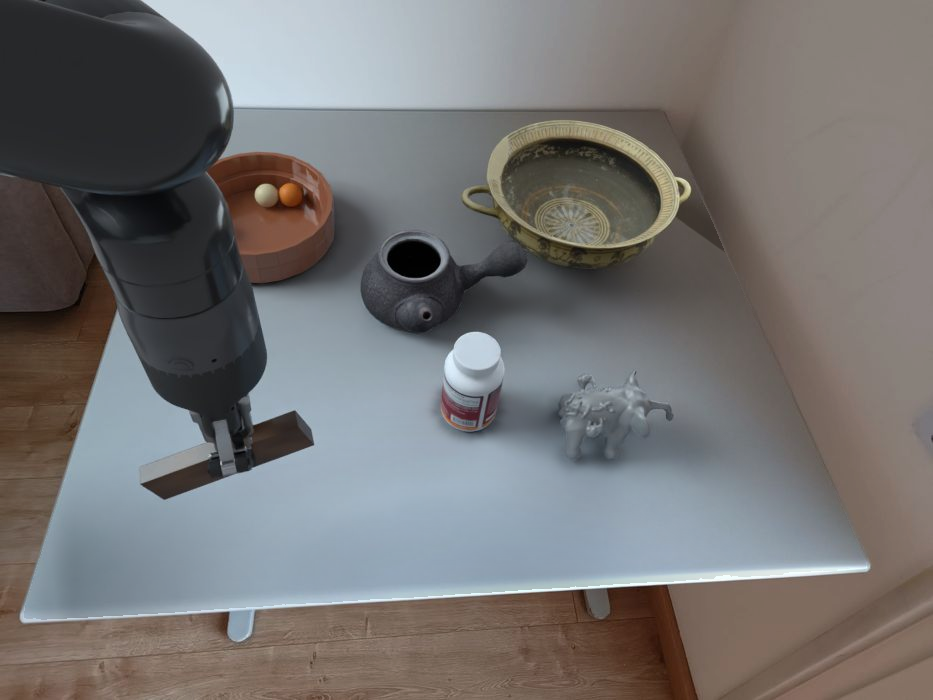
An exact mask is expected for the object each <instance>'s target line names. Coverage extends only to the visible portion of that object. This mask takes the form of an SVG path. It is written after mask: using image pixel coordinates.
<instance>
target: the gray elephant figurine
mask: <svg viewBox="0 0 933 700" xmlns="http://www.w3.org/2000/svg"><path fill="white" fill-rule="evenodd" d="M636 375H637V370H635V369H634V370H632V371H631V372H630V373H629V374H628V375H627V377H626V379H625V381H624V383H623V385H621V386H619V387H618V388H610V387H609V386H607V387H605V388H604V387H600V388H599V387H598V385H597V384H596V381H595V379H594V376H593V375H592V374H591V373H590V374H586V373H584V374H580V375H579V376H578V377H577V378H576V382H577V386H578V387H579V391H578V392H577V391H574V392H572V393H571V392H569V393H565V394H562V395H561V396H560V398H559V400H558V403H557V404H558V409H559V411H558V416H559V417H561V418H560V420H559V424H560V425H561V426H562V427H563V430H564V433H565V434H566V435H565V436H566V449H565V457H566V458H567V459H568V460H570V461H577V460H578V459H579V458H580V457H581V454H582V449H581V448H582V443H583V441H584V440H585V438H586V437H589V438H595V437H597V436H598V435H603V436H604V437H605V443H604V444H603V445H604V446H603V450H602V453H603V455H604V456H605V458H607V459H608V460H615V459H616V458H617V457H618V455H619V451H620V448H621V446H622V445H623V444H624V442H625V441H626V439H627V437H628V436H629V435H630V434H631V433H632V431H634V432H635V433H636V434H637V435H638V436H639V437H641V438H643V439H645V438H648V437H649V436H650V435H651V425H650V423H649V421H648V419H647V416H648V415H649V413H650V412H651V411H653V410H663V411H664V413H665V419H666V421H668V422H670V421H672V420H673V419H674V413H673V409H672V405H670V404H669V403H668V402H662V401H654V400H652V399H650V398H649V397H648V395H647V394H646V393H645V391H643V390H642V389H641V388H640V386H639V383H638V378H637V377H636ZM589 383H590V384H591V385H592V387H593V388H587V389H586V387H587V385H588V384H589Z"/></svg>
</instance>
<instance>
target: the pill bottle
mask: <svg viewBox="0 0 933 700" xmlns="http://www.w3.org/2000/svg"><path fill="white" fill-rule="evenodd" d="M505 370H506V368H505V363H504V360H503V357H502V349H501V345H500V344H499V343H498V341H497V340H496V339H495V338H494V337H493V336H491V335H489V334H487V333H485V332H481V331H470V332H466V333H464V334H463V335H461V336H460V337H458V338H457V340H456V341H455V343H454V345H453V349H452V350H450V352H449V353H448V354H447V357H446V358H445V361H444V365H443V376H442V384H441V385H442V386H441V396H440V411H441V414H442V417H443V419H444V420H445V421H446V423H448V424H449V426H451V427H452V428H455V429H456V430H459V431H462V432H466V433H468V432H469V433H470V432H471V433H472V432H477V431H478V432H479V431H481V430H483V429H485V428H487V427H488V426H489V425H490V424H491V423H492V422H493V421H494V420H495V417H496V414H497V410H498V406H499V400H500V396H501V392H502V387H503V382H504V378H505V372H506V371H505Z"/></svg>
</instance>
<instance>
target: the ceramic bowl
mask: <svg viewBox="0 0 933 700" xmlns="http://www.w3.org/2000/svg"><path fill="white" fill-rule="evenodd" d="M486 183H487V184H485V185H483V184H482V185H474V186H469V187H468V188H466V189H464V190H463V191H462V193H461V201H462V204H463V205H464V206H465V207H466V208H468V209H469V210H471V211H473V212H475V213H478V214H481V215H484V216H488V217H492V218H494V219H497V220H498V222H499V224H500V225H501V227H502V228H503V230H504V231H505V232H506V234H507V235H508V237H509V238H511V239H512V241H513V242H516V243H518V244H520V245H521V246H522V247H523V249H524V251H527V252H528V253H530V254H531V255H533V256H535V257H537V258H539V259H541V260H544V261H547V262H548V263H552V264H555V265H559V266H562V267H566V268H574V269H582V270H583V269H584V270H585V269H586V270H587V269H588V270H592V269H593V270H594V269H603V268H610V267H614V266H618V265H621V264H625V263H626V262H629V261H631V260H633V259H634V258H636V257H638V256H640V255H641V254H642V253H643V252H645V251H646V250H647V249H648V248H649V247H650V246H651V245H652V244H653V243H654V241H655V240H656V238H657V237H658V236H659V234H660V233H661V232H663V231H664V230H666V228H667V227H669V225H670V224H671V223H672V222H673V220H674V219H675V218H676V216H677V214H678V212H679V209H680V208H679V207H680V205H681V204H682V203H684V202H686V201H687V200H688V198H689V197H690V196H691V192H692V187H691V185H690V183H689V182H688V181H687V180H686V179H684V178H682V177H677V176H675V174H674V173H673V172H672V170H671V169H670V167H669V166H668V165H667V163H666V162H665V161H664V160H663V159H662V158H661V157H660V156H659V155H658V153H656V152H655V151H654V150H652V149H650V148H649V146H647V145H646V144H644V143H643V142H641V141H640V140H638V139H636V138H634V137H633V136H630V135H629V134H626V133H624V132H622V131H620V130H617V129H613V128H612V127H609V126H606V125H602V124H599V123H595V122H589V121H581V120H573V119H555V120H546V121H540V122H535V123H531V124H527V125H525V126H522V127H520V128H518V129H516V130H514V131H512V132H510V133H508V135H506V136H504V137H503V138H502V139H501V140H500V141H499V142H498V143H497V144H496V145H495V147H494V148H493V150H492V152H491V153H490V157H489V159H488V163H487V170H486ZM679 187H680V188H682V190H683V193H682V194H681V195H680V191H679ZM475 194H476V195H477V194H487V195H489V196H491V198H492V204H493V207H488V206H485V205H482V204H479V203H477V202H474V201H473V200H472V199H470V197H471V196H472V195H475Z"/></svg>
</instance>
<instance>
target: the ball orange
mask: <svg viewBox="0 0 933 700" xmlns="http://www.w3.org/2000/svg"><path fill="white" fill-rule="evenodd" d="M279 199H280V201H281V202H282V203H283V204H284V205H286V206H289V207H294V206H296V205H298V204H299V203H300V202H301V200H302V191H301V189H300V188H299V187H298V186H297V185H296V184H293V183H287V184H285V185H283V186H282V187H281V188H280V190H279Z"/></svg>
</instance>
